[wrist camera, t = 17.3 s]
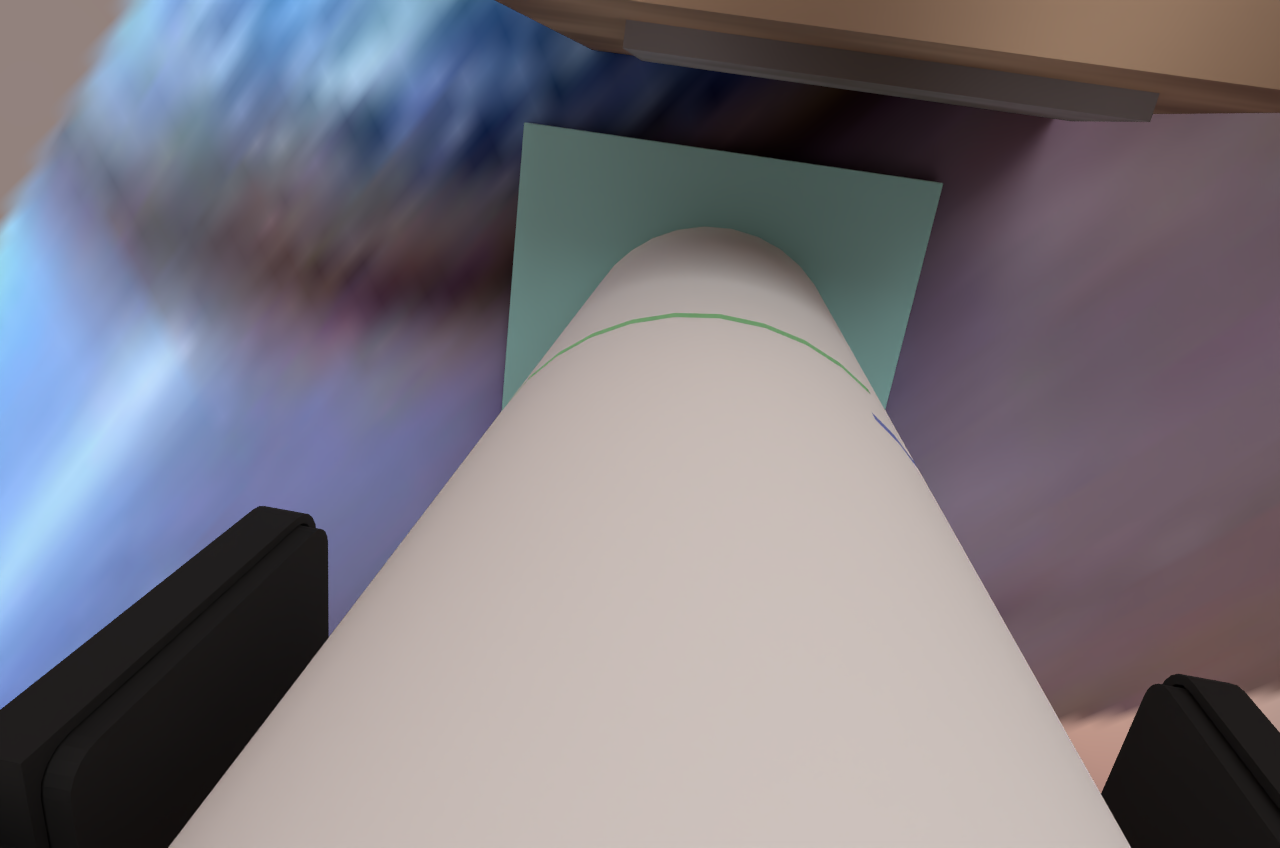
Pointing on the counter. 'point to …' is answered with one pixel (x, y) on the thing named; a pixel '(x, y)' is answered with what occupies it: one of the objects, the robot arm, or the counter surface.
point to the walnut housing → (962, 49)
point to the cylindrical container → (672, 616)
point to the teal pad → (711, 197)
